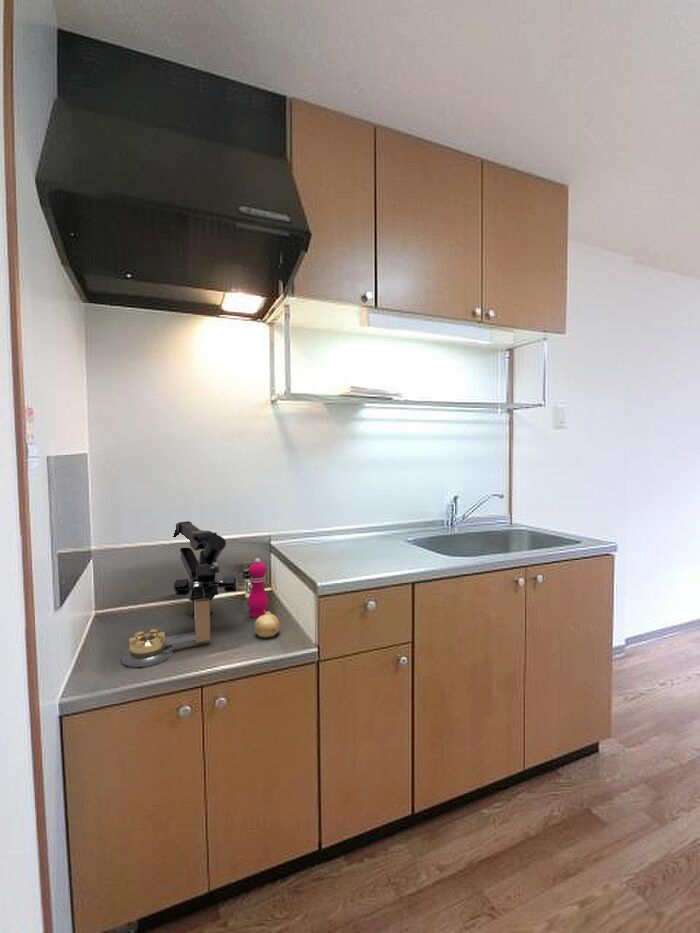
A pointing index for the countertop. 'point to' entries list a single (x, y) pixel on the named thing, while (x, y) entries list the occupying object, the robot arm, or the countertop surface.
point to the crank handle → (156, 641)
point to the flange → (147, 661)
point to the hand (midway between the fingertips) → (204, 611)
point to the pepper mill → (257, 590)
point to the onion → (266, 625)
